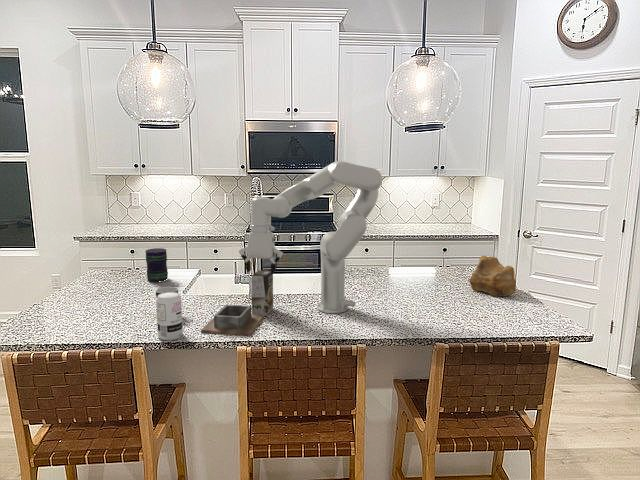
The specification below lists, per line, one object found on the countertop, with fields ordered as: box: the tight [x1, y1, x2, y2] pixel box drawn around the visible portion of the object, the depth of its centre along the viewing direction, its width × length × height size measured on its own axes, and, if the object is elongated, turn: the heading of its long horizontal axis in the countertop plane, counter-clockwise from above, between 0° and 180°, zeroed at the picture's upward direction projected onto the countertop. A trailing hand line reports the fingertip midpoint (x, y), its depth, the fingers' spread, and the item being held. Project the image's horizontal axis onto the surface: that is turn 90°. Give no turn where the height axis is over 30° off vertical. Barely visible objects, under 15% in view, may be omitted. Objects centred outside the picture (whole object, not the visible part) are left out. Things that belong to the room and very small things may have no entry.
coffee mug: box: [154, 286, 180, 298], centre depth 189 cm, size 12×9×10 cm
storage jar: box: [145, 247, 169, 283], centre depth 239 cm, size 10×10×15 cm
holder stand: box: [200, 304, 264, 336], centre depth 180 cm, size 18×18×6 cm
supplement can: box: [155, 292, 184, 341], centre depth 168 cm, size 8×8×15 cm
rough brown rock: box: [468, 255, 517, 298], centre depth 223 cm, size 23×17×15 cm
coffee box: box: [250, 269, 274, 317], centre depth 193 cm, size 9×6×16 cm
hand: (260, 272), depth 192 cm, fingers open, 9 cm apart
